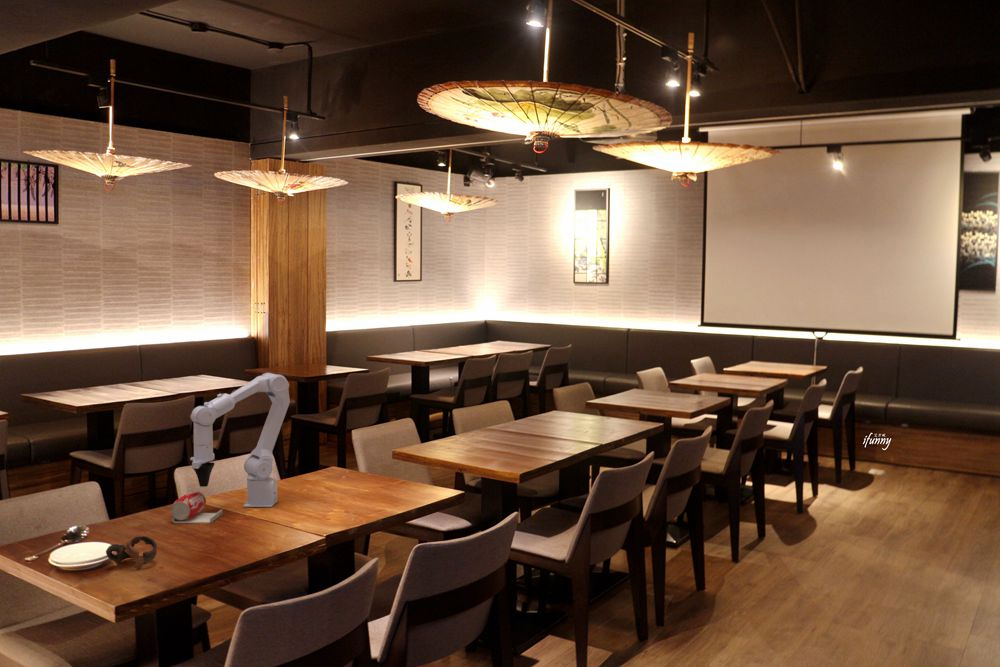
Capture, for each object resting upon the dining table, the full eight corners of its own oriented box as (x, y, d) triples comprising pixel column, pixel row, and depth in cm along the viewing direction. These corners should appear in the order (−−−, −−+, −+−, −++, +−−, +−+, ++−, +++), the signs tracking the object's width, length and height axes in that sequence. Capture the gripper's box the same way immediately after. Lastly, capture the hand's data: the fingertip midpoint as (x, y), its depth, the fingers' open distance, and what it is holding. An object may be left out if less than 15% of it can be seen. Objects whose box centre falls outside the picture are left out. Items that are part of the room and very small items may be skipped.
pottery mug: (147, 557, 217) (157, 533, 215) (151, 582, 210) (162, 557, 208) (99, 554, 210) (110, 529, 208) (102, 579, 203) (113, 554, 200)
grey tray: (222, 514, 257) (222, 509, 257) (211, 523, 247) (211, 518, 247) (184, 514, 257) (184, 509, 257) (172, 523, 247) (172, 518, 247)
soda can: (211, 504, 258) (196, 514, 246) (193, 515, 258) (176, 526, 246) (199, 485, 258) (183, 495, 246) (181, 496, 258) (164, 507, 246)
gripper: (199, 439, 263) (199, 480, 264) (181, 448, 249) (182, 491, 249) (220, 439, 263) (221, 480, 264) (204, 448, 249) (205, 491, 250)
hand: (203, 486), depth 257 cm, fingers closed
